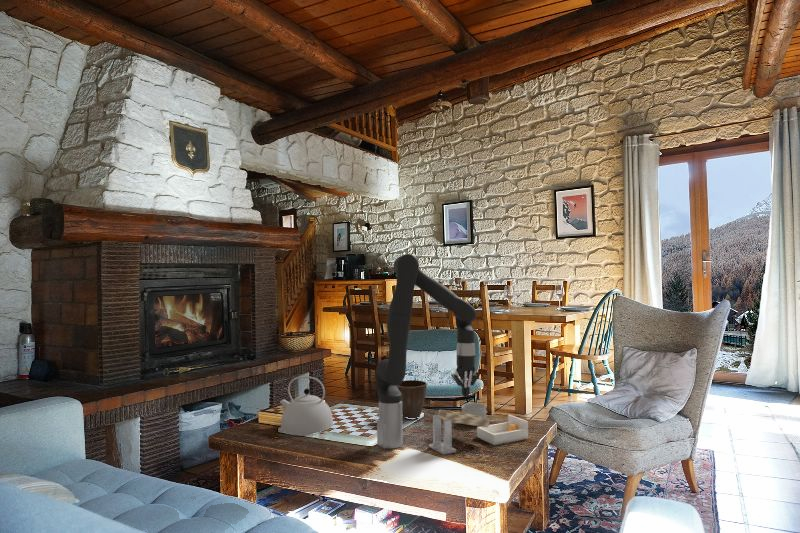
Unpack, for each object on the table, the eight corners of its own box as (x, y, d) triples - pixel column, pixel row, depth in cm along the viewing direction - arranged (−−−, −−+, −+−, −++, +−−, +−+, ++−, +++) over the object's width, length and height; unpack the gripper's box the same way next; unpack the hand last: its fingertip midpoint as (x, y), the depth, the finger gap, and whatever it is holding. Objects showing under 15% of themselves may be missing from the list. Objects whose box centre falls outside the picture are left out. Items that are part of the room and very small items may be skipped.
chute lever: (445, 421, 195) (447, 413, 196) (426, 411, 209) (427, 404, 209) (488, 427, 204) (489, 419, 204) (466, 418, 217) (467, 411, 218)
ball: (516, 423, 212) (521, 429, 213) (509, 420, 215) (514, 427, 216) (510, 431, 210) (515, 437, 211) (504, 428, 214) (509, 434, 215)
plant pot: (412, 424, 231) (412, 388, 231) (388, 418, 241) (388, 383, 241) (433, 417, 242) (433, 382, 243) (409, 411, 252) (409, 378, 252)
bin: (494, 445, 202) (494, 427, 202) (477, 437, 212) (476, 419, 212) (528, 438, 209) (528, 421, 210) (509, 431, 220) (509, 414, 220)
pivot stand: (442, 454, 192) (442, 422, 192) (429, 446, 201) (428, 415, 201) (456, 452, 195) (455, 419, 195) (442, 444, 204) (441, 413, 204)
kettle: (265, 432, 222) (265, 379, 222) (292, 418, 244) (291, 370, 244) (319, 437, 215) (318, 382, 215) (341, 422, 236) (340, 372, 237)
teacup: (487, 426, 226) (487, 408, 226) (462, 427, 227) (462, 408, 227) (483, 418, 240) (483, 400, 240) (459, 418, 240) (459, 400, 241)
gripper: (457, 355, 206) (457, 400, 206) (484, 353, 212) (484, 396, 211) (447, 353, 213) (447, 396, 212) (474, 351, 219) (473, 393, 218)
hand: (465, 396), depth 212 cm, fingers closed
